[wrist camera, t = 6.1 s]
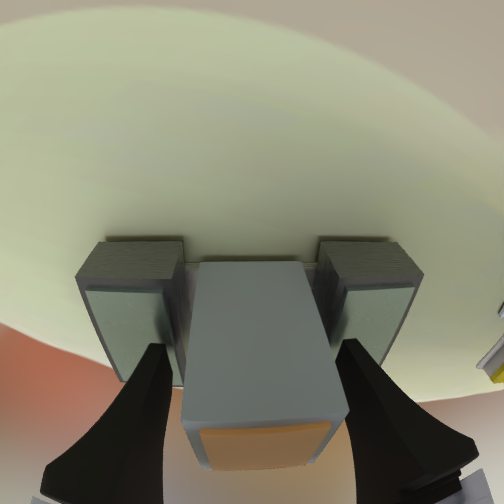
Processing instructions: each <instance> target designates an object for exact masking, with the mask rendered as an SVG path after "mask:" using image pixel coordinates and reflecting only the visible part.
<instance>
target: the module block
mask: <svg viewBox="0 0 504 504" xmlns="http://www.w3.org/2000/svg"><path fill="white" fill-rule="evenodd" d="M349 411H350V410H349V407H348V403H347V400H346V397H345V393H344V390H343V387H342V383H341V380H340V377H339V374H338V370H337V367H336V364H335V361H334V358H333V354H332V351H331V348H330V345H329V342H328V339H327V336H326V333H325V330H324V327H323V324H322V321H321V318H320V315H319V312H318V309H317V306H316V303H315V300H314V297H313V294H312V291H311V288H310V285H309V283H308V280H307V277H306V274H305V271H304V268H303V266H302V263H301V261H256V262H200V265H199V272H198V278H197V285H196V292H195V299H194V306H193V313H192V320H191V328H190V336H189V344H188V352H187V361H186V370H185V379H184V389H183V399H182V411H181V422H182V425H183V427H184V430H185V432H186V434H187V437H188V439H189V441H190V444H191V446H192V448H193V450H194V452H195V455H196V457H197V459H198V461H199V463H200V465H201V467H202V468H203V469H212V470H220V471H223V470H224V471H230V470H231V471H233V470H260V469H275V468H286V467H295V466H303V465H306V464H308V463H314V462H315V460H316V459H317V458H318V456H319V455H320V453H321V452H322V451H323V449H324V448H325V447H326V445H327V444H328V442H329V441H330V440H331V438H332V437H333V435H334V434H335V432H336V431H337V429H338V428H339V426H340V425H341V423H342V422H343V420H344V419H345V417H346V416H347V414H348V412H349Z"/></svg>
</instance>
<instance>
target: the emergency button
mask: <svg viewBox="0 0 504 504" xmlns="http://www.w3.org/2000/svg"><path fill="white" fill-rule="evenodd" d="M476 368H477V369H484V371H485V372H486V373H487V375H488V376H489V378H490V380H491V381H492V382H493V383H504V335H503V336H502V337H501V338H500V339H499V340H498V342H497V343H496V344H495V345H494V346H493V347H492V348H491V349H490V351H489V352H488V353H487V354H486V355H485V356H484V357H483V358H482V359H481V360H480V361H479V362H478V364H477V365H476Z"/></svg>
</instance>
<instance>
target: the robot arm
mask: <svg viewBox="0 0 504 504" xmlns="http://www.w3.org/2000/svg"><path fill="white" fill-rule="evenodd" d="M499 316H500V317H501V318H504V306H503V308H502V309H501V311H500V313H499ZM335 364H336V367H337V370H338V374H339V377H340V380H341V383H342V387H343V390H344V393H345V397H346V400H347V403H348V407H349V410H350V411H349V412H348V414H347V416H346V417H345V422H346V425H347V428H348V431H349V436H350V440H351V446H352V452H353V459H354V468H355V478H356V496H357V504H494V502H493V499H492V496H491V492H490V489H489V486H488V483H487V480H486V477H485V474H484V472H483V469H479V470H477V471H476V472H474V473H473V474H471V475H469V476H467V477H466V478H464V479H462V480H461V481H460V480H459V476H461V471H460V469H461V468H462V467H464V466H465V465H467V464H469V463H470V462H472V461H473V460H474V459H476V458H477V457H478V456H479V452H478V450H477V447H476V445H475V442H474V440H473V439H472V438H470V437H467V436H465V435H463V434H461V433H459V432H457V431H455V430H453V429H451V428H450V427H448V426H447V425H445V424H443V423H442V422H440V421H439V420H437V419H436V418H434V417H433V416H432V415H430V414H429V413H427V412H426V411H425V410H424V409H422V408H421V407H420V406H419V405H417V404H416V403H415V402H414V401H413V400H412V399H411V398H409V397H408V396H407V395H406V394H405V393H404V392H403V391H402V390H401V389H400V388H399V387H398V386H397V385H396V384H395V383H394V382H393V380H392V379H391V378H390V377H389V376H388V375H387V374H386V373H385V372H384V370H383V369H382V368H381V367H380V366H379V365H378V363H377V362H376V361H375V360H374V359H373V357H372V356H371V355H370V354H369V353H368V351H367V350H366V349H365V348H364V347H363V345H362V344H361V343H360V342H359V341H358V339H357V338H351V339H343V341H342V344H341V346H340V349H339V352H338V354H337V357H336V360H335ZM172 383H173V371H172V367H171V364H170V360H169V357H168V353H167V349H166V345H165V344H163V343H150V344H149V345H148V346H147V348H146V350H145V352H144V354H143V356H142V357H141V359H140V361H139V363H138V364H137V366H136V368H135V369H134V371H133V373H132V374H131V376H130V377H129V379H128V381H127V382H126V384H125V385H124V387H123V388H122V390H121V391H120V393H119V394H118V395H117V397H116V398H115V400H114V401H113V402H112V404H111V405H110V406H109V408H108V409H107V410H106V411H105V413H104V414H103V415H102V416H101V417H100V419H99V420H98V421H97V422H96V423H95V424H94V425H93V426H92V427H91V428H90V430H89V431H88V432H87V433H86V434H85V435H84V436H83V437H81V438H80V439H79V440H78V441H77V442H76V443H75V444H74V445H73V446H72V447H70V448H69V449H68V450H67V451H66V452H64V453H63V454H62V455H60V456H59V457H58V458H56V459H55V460H54V461H52V462H51V463H49V464H48V465H47V466H46V468H45V471H44V474H43V478H42V483H41V488H40V493H41V494H42V495H44V496H46V497H48V498H50V499H53V500H55V501H57V502H59V503H62V504H163V446H164V437H165V431H166V425H167V419H168V413H169V408H170V402H171V396H172ZM31 504H50V503H47V502H45V501H42V500H40V499H38V498H36V497H32V500H31Z"/></svg>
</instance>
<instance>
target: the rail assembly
mask: <svg viewBox="0 0 504 504" xmlns="http://www.w3.org/2000/svg"><path fill="white" fill-rule="evenodd" d="M301 263H302V266H303V268H304V271H305V274H306V277H307V280H308V283H309V285H310V288H311V291H312V294H313V297H314V300H315V303H316V306H317V309H318V312H319V315H320V318H321V321H322V324H323V327H324V330H325V333H326V336H327V339H328V342H329V345H330V348H331V351H332V354H333V358H334V361H335V360H336V357H337V354H338V352H339V349H340V346H341V344H342V341H343V339H351V338H357V339H358V341H359V342H360V343H361V344H362V345H363V347H364V348H365V349H366V350H367V351H368V353H369V354H370V355H371V356H372V357H373V359H374V360H375V361H376V362H377V363H378V365H379V366H380V367H381V365H382V363H383V361H384V360H385V358H386V356H387V354H388V352H389V350H390V348H391V346H392V344H393V342H394V341H395V339H396V337H397V335H398V333H399V330H400V328H401V326H402V324H403V322H404V320H405V318H406V316H407V314H408V311H409V309H410V307H411V305H412V302H413V300H414V298H415V295H416V293H417V291H418V288H419V286H420V283H421V281H422V278H423V276H424V274H423V272H422V271H421V270H420V269H419V267H418V266H417V265H416V264H415V263H414V261H413V260H412V259H411V258H410V257H409V256H408V254H407V253H406V252H405V251H404V250H403V249H402V247H401V246H400V245H399V244H398V243H397V242H342V241H321V244H320V250H319V256H318V261H317V262H301ZM199 265H200V263H184V253H183V243H182V241H138V242H98V244H97V245H96V247H95V248H94V249H93V251H92V252H91V254H90V255H89V256H88V258H87V259H86V261H85V262H84V264H83V265H82V267H81V268H80V270H79V271H78V273H77V274H76V276H75V279H76V282H77V285H78V287H79V290H80V293H81V296H82V298H83V301H84V304H85V306H86V309H87V311H88V314H89V316H90V319H91V321H92V324H93V326H94V328H95V331H96V333H97V335H98V337H99V340H100V342H101V344H102V346H103V348H104V351H105V353H106V355H107V357H108V359H109V361H110V363H111V365H112V367H113V369H114V371H115V373H116V375H117V377H118V379H119V380H120V382H127V381H128V379H129V377H130V376H131V374H132V373H133V371H134V369H135V368H136V366H137V364H138V363H139V361H140V359H141V357H142V356H143V354H144V352H145V350H146V348H147V346H148V345H149V344H150V343H163V344H165V345H166V349H167V353H168V357H169V360H170V364H171V367H172V371H173V383H172V387H184V379H185V370H186V361H187V352H188V344H189V336H190V328H191V320H192V313H193V306H194V299H195V292H196V285H197V278H198V272H199Z"/></svg>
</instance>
